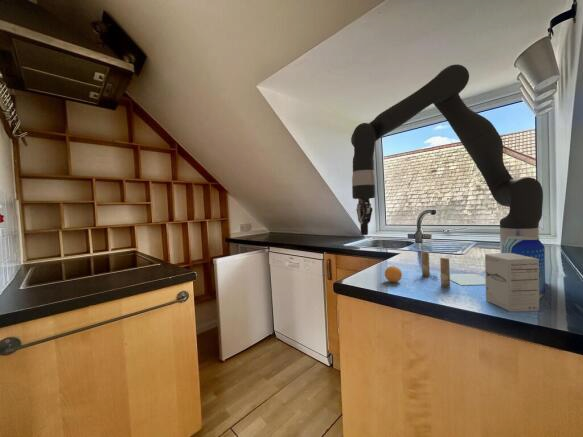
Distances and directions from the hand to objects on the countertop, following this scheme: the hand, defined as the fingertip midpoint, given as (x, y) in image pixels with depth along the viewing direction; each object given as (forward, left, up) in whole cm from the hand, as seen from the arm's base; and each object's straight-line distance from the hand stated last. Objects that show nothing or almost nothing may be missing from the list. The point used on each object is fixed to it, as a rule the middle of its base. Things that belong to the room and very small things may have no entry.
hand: (364, 234), depth 83 cm
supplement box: (-30, +22, -17) cm, 41 cm away
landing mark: (-34, 0, -17) cm, 38 cm away
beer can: (-39, +15, -17) cm, 45 cm away
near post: (-23, +6, -17) cm, 29 cm away
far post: (-23, -6, -17) cm, 29 cm away
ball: (-9, 0, -14) cm, 17 cm away
